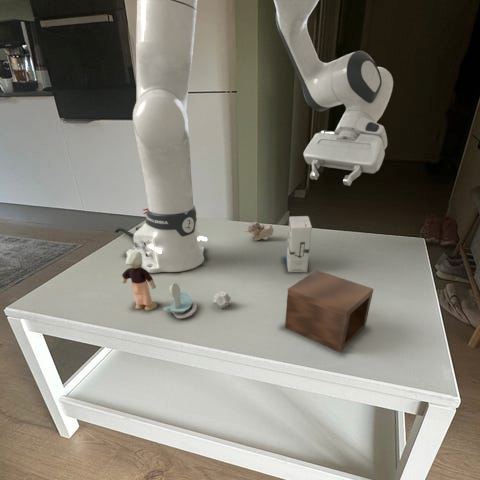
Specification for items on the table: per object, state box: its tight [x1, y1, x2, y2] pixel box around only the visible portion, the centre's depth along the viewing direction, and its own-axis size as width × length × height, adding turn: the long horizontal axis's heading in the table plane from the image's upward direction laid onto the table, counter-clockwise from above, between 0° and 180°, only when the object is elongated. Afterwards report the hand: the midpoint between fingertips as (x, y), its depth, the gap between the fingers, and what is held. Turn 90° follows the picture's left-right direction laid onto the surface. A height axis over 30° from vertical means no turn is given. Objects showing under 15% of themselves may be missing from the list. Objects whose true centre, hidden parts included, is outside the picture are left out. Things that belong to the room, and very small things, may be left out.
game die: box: [213, 290, 231, 310], centre depth 78 cm, size 4×4×3 cm
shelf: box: [284, 269, 375, 354], centre depth 69 cm, size 12×10×9 cm
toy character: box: [244, 221, 274, 241], centre depth 109 cm, size 4×8×6 cm, turn 79°
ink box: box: [285, 215, 313, 273], centre depth 91 cm, size 9×5×12 cm, turn 178°
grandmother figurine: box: [121, 250, 157, 311], centre depth 75 cm, size 8×4×13 cm, turn 84°
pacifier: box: [162, 282, 198, 319], centre depth 75 cm, size 7×6×6 cm
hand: (328, 181), depth 92 cm, fingers open, 8 cm apart
